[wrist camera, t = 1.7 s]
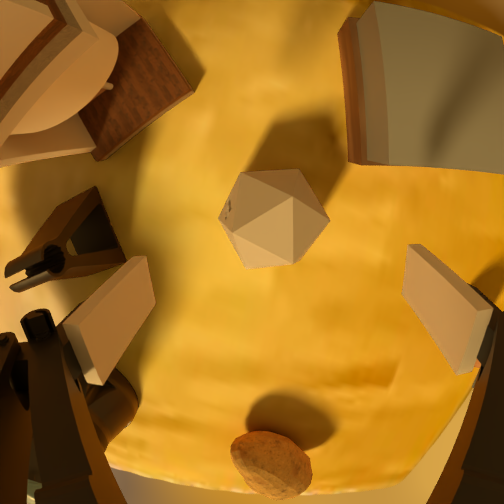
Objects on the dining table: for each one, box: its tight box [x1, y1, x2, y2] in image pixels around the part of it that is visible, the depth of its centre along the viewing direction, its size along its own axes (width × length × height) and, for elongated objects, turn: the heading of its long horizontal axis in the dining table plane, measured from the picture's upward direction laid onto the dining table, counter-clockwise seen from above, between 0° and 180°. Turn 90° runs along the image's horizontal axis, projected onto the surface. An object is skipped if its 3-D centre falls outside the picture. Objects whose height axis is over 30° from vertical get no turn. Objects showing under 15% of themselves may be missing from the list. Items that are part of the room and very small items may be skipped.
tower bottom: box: [337, 17, 419, 167], centre depth 23 cm, size 13×13×5 cm
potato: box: [231, 431, 313, 500], centre depth 37 cm, size 10×14×10 cm
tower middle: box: [356, 1, 504, 174], centre depth 18 cm, size 12×12×5 cm
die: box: [218, 169, 330, 269], centre depth 26 cm, size 8×9×10 cm
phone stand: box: [4, 186, 126, 292], centre depth 26 cm, size 9×6×12 cm, turn 18°
